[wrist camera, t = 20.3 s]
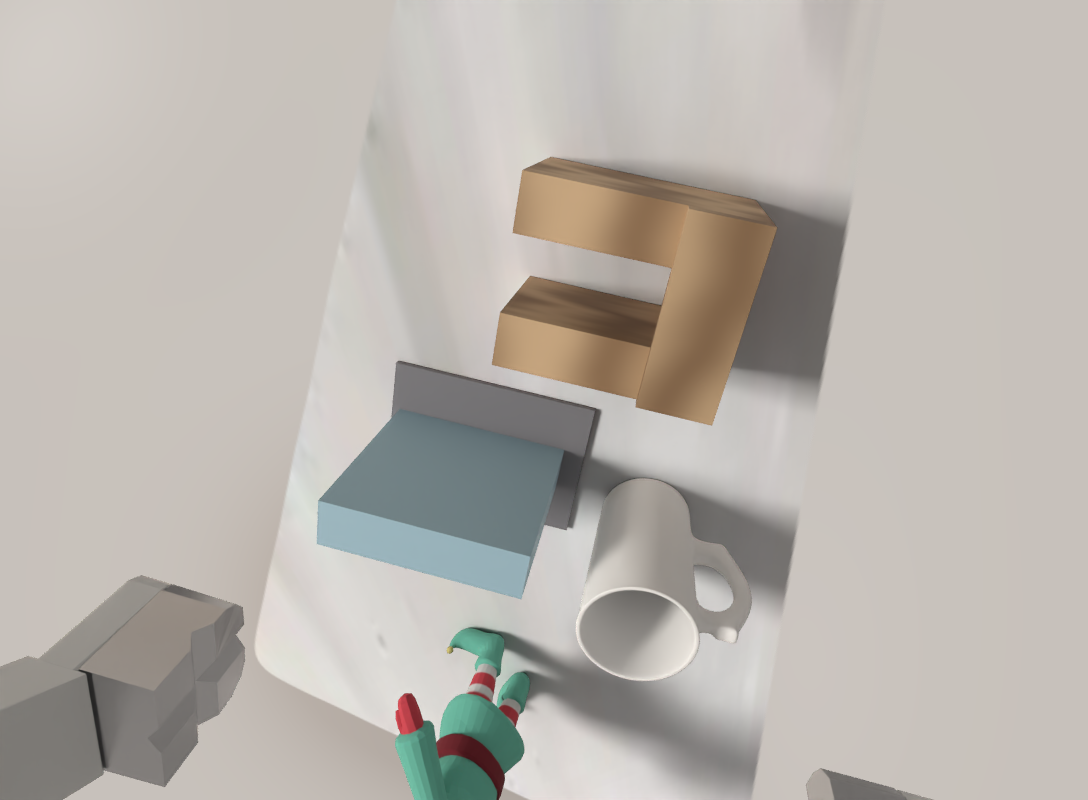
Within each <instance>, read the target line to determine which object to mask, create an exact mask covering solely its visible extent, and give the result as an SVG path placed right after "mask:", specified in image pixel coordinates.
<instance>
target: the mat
mask: <svg viewBox="0 0 1088 800" xmlns="http://www.w3.org/2000/svg"><path fill="white" fill-rule="evenodd" d="M399 409H402V410H406V411H410V412H414V413H418V414H422V415H426V416H430V417H434V418H438V419H442V420H446V421H450V422H454V423H458V424H462V425H466V426H470V427H474V428H478V429H482V430H486V431H490V432H494V433H498V434H502V435H507V436H511V437H515V438H519V439H523V440H527V441H531V442H535V443H539V444H543V445H547V446H551V447H555V448H559V449H563V450H564V453H563V458H562V462H561V467H560V471H559V476H558V480H557V484H556V488H555V491H554V495H553V498H552V501H551V504H550V508H549V511H548V514H547V517H546V521H545V524H544V525H548V526H552V527H556V528H560V529H564V530H567V526H568V522H569V518H570V514H571V509H572V505H573V501H574V497H575V493H576V489H577V484H578V480H579V476H580V472H581V468H582V463H583V459H584V455H585V451H586V447H587V443H588V438H589V434H590V430H591V426H592V422H593V418H594V413H595V409H596V408H592V407H587V406H583V405H579V404H575V403H571V402H567V401H563V400H559V399H554V398H550V397H546V396H542V395H538V394H534V393H530V392H525V391H521V390H517V389H513V388H509V387H505V386H501V385H497V384H492V383H488V382H484V381H480V380H476V379H472V378H468V377H464V376H459V375H455V374H451V373H447V372H443V371H439V370H435V369H431V368H426V367H422V366H418V365H414V364H410V363H406V362H402V361H398V362H397V363H396V372H395V384H394V395H393V406H392V417H393V416H394V415H395V414H396V413H397V412H398V410H399Z"/></svg>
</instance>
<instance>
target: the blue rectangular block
mask: <svg viewBox="0 0 1088 800" xmlns="http://www.w3.org/2000/svg"><path fill="white" fill-rule="evenodd" d="M563 453H564V450H563V449H559V448H555V447H551V446H547V445H543V444H539V443H535V442H531V441H527V440H523V439H519V438H515V437H511V436H507V435H502V434H498V433H494V432H490V431H486V430H482V429H478V428H474V427H470V426H466V425H462V424H458V423H454V422H450V421H446V420H442V419H438V418H434V417H430V416H426V415H422V414H418V413H414V412H410V411H406V410H402V409H399V410H398V412H397V413H396V414H395V415H394V416H393V417H392V418H391V419H390V421H389V422H388V423H387V424H386V425H385V426H384V427H383V428H382V430H381V431H380V432H379V433H378V434H377V435H376V436H375V437H374V439H373V440H372V441H371V442H370V443H369V444H368V445H367V446H366V448H365V449H364V450H363V451H362V452H361V453H360V454H359V455H358V457H357V458H356V459H355V460H354V461H353V462H352V463H351V464H350V466H349V467H348V468H347V469H346V470H345V471H344V472H343V473H342V475H341V476H340V477H339V478H338V479H337V480H336V481H335V482H334V484H333V485H332V486H331V487H330V488H329V489H328V490H327V492H326V493H325V494H324V495H323V496H322V497H321V498H320V499H319V501H318V525H317V544H319V545H323V546H326V547H330V548H334V549H338V550H341V551H345V552H349V553H352V554H356V555H360V556H363V557H367V558H371V559H374V560H378V561H382V562H386V563H389V564H393V565H397V566H400V567H404V568H408V569H411V570H415V571H419V572H422V573H426V574H430V575H434V576H437V577H441V578H445V579H448V580H452V581H456V582H459V583H463V584H467V585H471V586H474V587H478V588H482V589H485V590H489V591H493V592H496V593H500V594H504V595H507V596H511V597H515V598H519V599H522V595H523V592H524V589H525V586H526V582H527V579H528V576H529V573H530V569H531V566H532V563H533V560H534V556H535V553H536V550H537V547H538V543H539V540H540V537H541V534H542V530H543V527H544V524H545V521H546V517H547V514H548V511H549V508H550V504H551V501H552V498H553V495H554V491H555V488H556V484H557V480H558V476H559V471H560V467H561V462H562V458H563Z"/></svg>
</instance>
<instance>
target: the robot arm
mask: <svg viewBox="0 0 1088 800" xmlns="http://www.w3.org/2000/svg"><path fill="white" fill-rule="evenodd" d="M243 625H244V616H243V607H241V606H239V605H237V604H234V603H230V602H227V601H224V600H221V599H218V598H214V597H211V596H208V595H205V594H202V593H198V592H196V591H192V590H189V589H186V588H183V587H180V586H176V585H172V584H169V583H166V582H162V581H159V580H156V579H152V578H149V577H146V576H142V575H141V576H139V577H136V578H133V579H131V580H129V581H127V582H126V583H125V584H124V585H123V586H121V587H120V588H119V589H118V590H117V591H116V592H114V594H112V595H111V596H110V597H109V598H108V599H106V600H105V601H104V602H103V603H102V604H101V605H99V606H98V607H97V608H96V609H95V610H94V611H93V612H91V613H90V614H89V615H88V616H87V617H86V618H85V619H83V621H81V622H80V623H79V624H78V625H77V626H75V627H74V628H73V629H72V630H71V631H70V632H69V633H68V634H66V635H65V636H64V637H63V638H62V639H60V640H59V641H58V642H57V643H56V644H55V645H54V646H53V647H51V648H50V649H49V650H48V651H47V652H46V653H44V654H43V655H42V656H41V657H40V658H39V659H37V658H33V657H29V656H27V657H24V658H22V659H19V660H17V661H14V662H11V663H9V664H6V665H3V666H1V667H0V800H63V799H64V798H66V797H68V796H69V795H71V794H73V793H74V792H76V791H77V790H79V789H81V788H82V787H84V786H86V785H87V784H89V783H91V782H92V781H94V780H95V779H97V778H99V777H100V776H102V775H103V773H104V772H103V770H105V771H109V772H112V773H116V774H120V775H123V776H127V777H130V778H134V779H137V780H141V781H145V782H148V783H152V784H155V785H159V786H163V787H165V786H166V785H167V783H168V782H169V781H170V779H171V778H172V776H173V775H174V774H175V773H176V771H177V770H178V769H179V767H180V766H181V765H182V763H183V762H184V761H185V759H186V758H187V757H188V755H189V754H190V753H191V751H192V750H193V749H194V747H195V746H196V745H197V743H198V725H199V724H201V723H203V722H205V721H207V720H209V719H211V718H213V717H215V716H217V715H219V713H220V712H221V711H222V709H223V708H224V707H225V705H226V704H227V702H228V701H229V700H230V698H231V697H232V695H233V692H234V690H235V688H236V686H237V684H238V682H239V680H240V677H241V675H242V670H243V666H244V662H245V647H244V646H243V644H242V643H241V641H240V640H239V639H238V637H237V636H236V634H237V633H238V631H239V630H240V629H241V628H242V626H243ZM806 787H807V793H808V799H809V800H932V799H928V798H925V797H921V796H917V795H914V794H911V793H907V792H903V791H899V790H895V789H894V788H891V787H888V786H884V785H880V784H876V783H873V782H869V781H865V780H861V779H858V778H854V777H851V776H847V775H843V774H839V773H836V772H832V771H828V770H825V769H819V770H817V771H815V772H814V773H813V774H812V776H811V777H810V779H809V781H808V783H807V784H806Z"/></svg>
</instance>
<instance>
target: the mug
mask: <svg viewBox="0 0 1088 800" xmlns="http://www.w3.org/2000/svg"><path fill="white" fill-rule="evenodd" d="M694 565H704V566H709V567H711V568H713V569H715V570H716V571H718V572H719V573H720V574H722V575H723V576H724V577H725V579H726V580H727V581H728V583H729V585H730V587H731V589H732V592H733V597H734V601H733V604H732V605H731V606H730V607H729V608H728V609H727V610H725V611H721V612H714V611H709V610H706V609H704V608H703V607H701V606H700V605H699V603H698V601H697V598H696V591H695V578H694ZM751 604H752V597H751V591H750V588H749V585H748V583H747V580H746V578H745V577H744V575H743V573H742V571H741V570H740V568H739V567H738V565H737V564H736V562H735V561H734V560H733V558H732V557H731V555H730V554H729V552H728V551H727V549H726V548H725V547H724V546H723V545H721V544H717V543H709V542H705V541H701V540H699V539H697V538H695V537H694V536H693V534H692V532H691V525H690V514H689V509H688V506H687V504H686V502H685V500H684V498H683V497H682V496H681V494H680V493H679V492H678V491H677V490H676V489H674V488H673V487H671V486H670V485H668V484H666V483H664V482H662V481H659V480H655V479H649V478H638V479H632V480H628V481H625V482H623V483H621V484H619V485H618V486H616V487H615V488H614V489H613V490H612V491H611V492H610V493H609V494H608V495H607V497H606V499H605V501H604V503H603V506H602V511H601V515H600V519H599V523H598V527H597V532H596V537H595V541H594V546H593V550H592V555H591V559H590V564H589V568H588V573H587V577H586V582H585V586H584V591H583V596H582V601H581V607H580V613H579V615H578V618H577V621H576V635H577V639H578V642H579V644H580V646H581V648H582V650H583V652H584V653H585V654H586V656H587V657H588V658H589V659H590V660H591V661H592V662H593V663H594V664H596V665H597V666H598V667H600V668H601V669H603V670H605V671H606V672H608V673H610V674H613V675H615V676H618V677H621V678H624V679H629V680H635V681H654V680H660V679H664V678H667V677H670V676H673V675H675V674H677V673H679V672H680V671H682V670H683V669H685V668H686V667H687V666H688V665H689V664H690V663H691V662H692V660H693V659H694V658H695V656H696V654H697V652H698V649H699V644H700V636H699V633H709V634H711V635H713V636H714V637H715V638H716V639H718V640H722V641H726V642H729V643H736V641H737V639H738V633H739V631H740V629H741V628H742V626H743V625H744V623H745V621H746V620H747V618H748V615H749V613H750V609H751Z"/></svg>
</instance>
